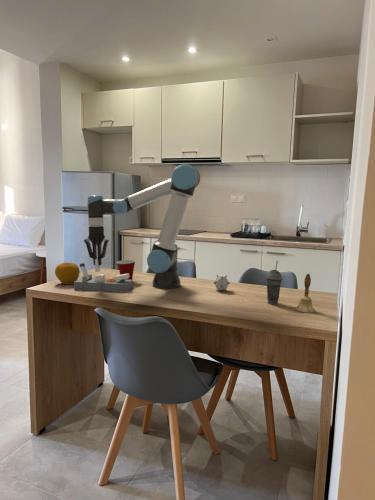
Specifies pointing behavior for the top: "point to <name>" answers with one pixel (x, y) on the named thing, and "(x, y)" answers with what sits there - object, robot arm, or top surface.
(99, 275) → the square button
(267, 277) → the beverage cup
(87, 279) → the lever
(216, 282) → the grey spiky ball
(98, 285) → the grey tray
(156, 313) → the top surface
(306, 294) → the hand bell
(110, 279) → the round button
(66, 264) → the apple
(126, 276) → the rocker
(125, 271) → the plastic cup
